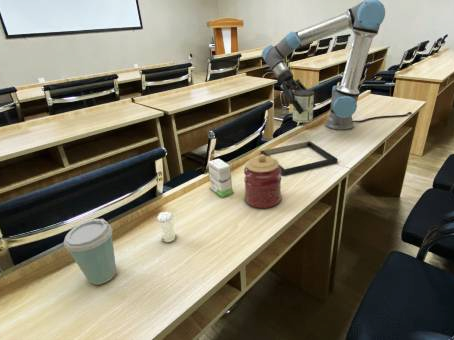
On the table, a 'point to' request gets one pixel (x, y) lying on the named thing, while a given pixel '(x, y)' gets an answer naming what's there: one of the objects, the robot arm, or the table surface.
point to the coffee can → (304, 105)
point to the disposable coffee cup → (93, 250)
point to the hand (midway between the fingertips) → (308, 110)
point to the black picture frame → (296, 169)
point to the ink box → (220, 177)
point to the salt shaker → (166, 226)
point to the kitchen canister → (262, 182)
